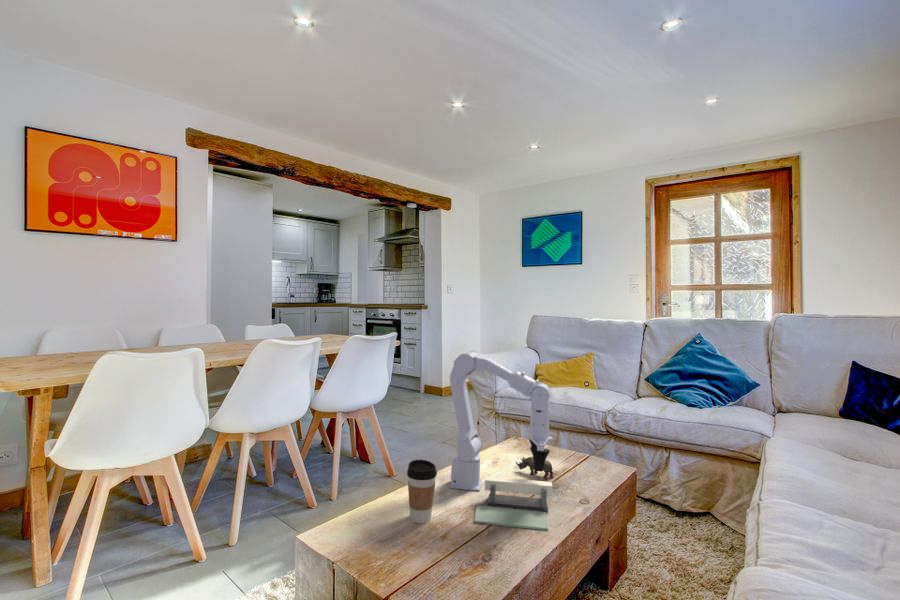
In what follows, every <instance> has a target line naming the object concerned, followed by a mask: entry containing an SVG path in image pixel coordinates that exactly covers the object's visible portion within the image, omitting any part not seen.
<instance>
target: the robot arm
mask: <svg viewBox="0 0 900 600" xmlns="http://www.w3.org/2000/svg"><path fill="white" fill-rule="evenodd" d="M451 369H452V370H451V371H450V374H449V385H450V389H451V395H452V401H453V406H454V412H455V416H456V417H455V418H456V423H457V427H458V428H457V429H458V432H457V433H458V434H457V438H456V440H457V441H456V442H457V446H456V449H455V450H456V455H457V456H453V457H452V459H451V470H450V471H451V472H450V489H457V490H467V491H478V492H479V491H481V485H482V479H480V474H481V473H480V472H481V455H480V451H481V450H482V448H483V441H482V439H481V437H480V436H479V432H478V430H477V428H476V427H475V425H474V418H473V413H472V409H471V402H470V397H469V396H470V395H469V392H468V386H467V379H468V378H469V377H470V376H471V374H473V372H474V371H475V372H483V371H486V372H488V373H490V374H493V376H496V377H498V378H501V380H505V381H506V382H508V385H509V387H510V388H511V389H513V390H515V391H517V392H518V393H520V394H522V395H524V396H525V397H527V398H529V399H530V401H531V406H530V422H529V423H530V424H529V425H530V426H529V436H528V440H529V443H530V447H529V448H530V452H531V454H532V457H533V459H534V466H535V471H537V472H544V471H543V468H544V463H545V460H546V459H547V457H548V455H549V454H550V449H549V448H545V446H546V445H547V443H549V441H550V442H552V441H553V436H549V432H550V411H551V410H550V398H551V395H552V390H551V388H550V387H549V385H547V384H546V383H545V382H542V381H540V380H539V379H536V380H535V379H534V378H532V377H530V376H528V375H526V372H525V371H515V372H513V371H511V370H510V369H508V368H507V367H504V366H503V365H501V364H499V363H498V362H496V361H494V360H493V359H491V358H490V357H488V356H487V355H485V354H483V353H480V352H478V351H477V350H469V351H467V352H465V353H461V354H459V355H458V356H457V357H456V358H455V360H454V361H453V366H452V368H451Z"/></svg>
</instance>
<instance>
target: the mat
mask: <svg viewBox="0 0 900 600" xmlns="http://www.w3.org/2000/svg"><path fill="white" fill-rule="evenodd" d="M474 522H475V523H474ZM473 523H474V524H481V523H486V524H485V525H491V526H492V525H493V526H501V527H502V526H503V527H510V528H511V527H512V528H520V529H529V530H536V531H537V530H540V531H547V532H548V531H549V525H548V519H547V512H544V511H534V510H524V509H514V508H504V507H494V506H488V505H478V504H476V508H475V514H474V521H473Z"/></svg>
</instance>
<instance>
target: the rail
mask: <svg viewBox="0 0 900 600" xmlns="http://www.w3.org/2000/svg"><path fill="white" fill-rule="evenodd" d="M491 485H495V491H496V492H501V493H502V492H503V493H512V494H513V493H514V494H522V495H523V494H524V495H535V496H540V495H541V489H544V490H546V491H547V497H553V483H552V481H544V480H543V481H542V480H534V479H533V480H532V479H520V478H510V477H501V476H499V477H498V476H491V475H490V476H489V475H485V478H484V490H485V491H490V486H491Z"/></svg>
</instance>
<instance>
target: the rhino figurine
mask: <svg viewBox="0 0 900 600" xmlns="http://www.w3.org/2000/svg"><path fill="white" fill-rule="evenodd" d="M520 460H521V461H519V462H517V461H515V464H516V465H517V466H518V468H519V470H524V469H526V468H527V467H529V470H530V473H529V474H530V475H529V476H531V475H533V476H535V475H536V474H538V473H539V471H535V466H534V459H533V456H528V457H525V456H522V458H520ZM553 468H554V467H553V466H552V463H551V462H550V461H549V460H545V463H544V468H543V471H542V472H544V475H543V476H542V478H543V479H544V480H547V479H549V477H551V478H550V479H553V478H554V471H553ZM534 473H535V474H534Z"/></svg>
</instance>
